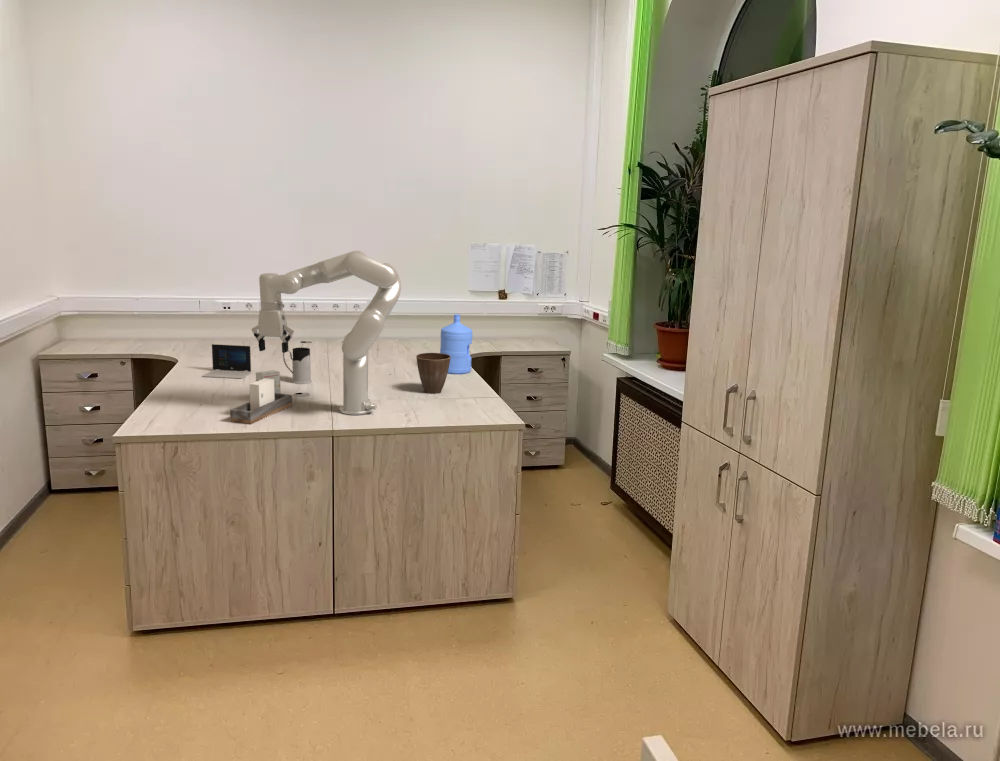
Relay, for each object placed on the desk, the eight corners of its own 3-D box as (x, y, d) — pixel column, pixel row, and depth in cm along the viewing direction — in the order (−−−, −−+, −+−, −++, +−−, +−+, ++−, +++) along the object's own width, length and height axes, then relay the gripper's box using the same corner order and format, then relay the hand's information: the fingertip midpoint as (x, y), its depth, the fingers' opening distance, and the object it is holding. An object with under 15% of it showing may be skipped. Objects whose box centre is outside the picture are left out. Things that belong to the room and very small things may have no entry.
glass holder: (304, 385, 337) (303, 351, 333) (277, 381, 342) (276, 348, 338) (315, 381, 344) (315, 348, 341) (289, 377, 350) (289, 345, 346)
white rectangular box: (274, 407, 295) (274, 379, 292) (259, 413, 285) (259, 385, 283) (265, 405, 296) (264, 378, 293) (250, 412, 287) (249, 383, 284)
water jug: (448, 375, 367) (449, 317, 361) (434, 368, 380) (435, 313, 374) (476, 373, 375) (478, 316, 368) (462, 366, 388) (464, 312, 381)
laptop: (202, 377, 343) (200, 349, 340) (213, 371, 355) (211, 344, 352) (241, 379, 343) (240, 351, 340) (251, 373, 355) (250, 345, 352)
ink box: (263, 402, 305) (262, 374, 303) (255, 400, 309) (255, 372, 306) (281, 399, 312) (280, 371, 309) (274, 396, 315) (273, 369, 312)
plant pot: (444, 397, 326) (445, 360, 323) (411, 394, 329) (411, 357, 326) (453, 389, 341) (454, 354, 337) (421, 386, 343) (422, 351, 340)
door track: (292, 405, 303) (291, 394, 302) (250, 424, 277) (250, 412, 276) (273, 403, 305) (273, 392, 304) (230, 421, 279) (230, 409, 278)
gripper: (297, 306, 288) (299, 351, 292) (256, 304, 292) (259, 348, 296) (286, 309, 280) (289, 354, 284) (245, 306, 285) (248, 351, 289)
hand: (273, 351), depth 290 cm, fingers open, 9 cm apart
